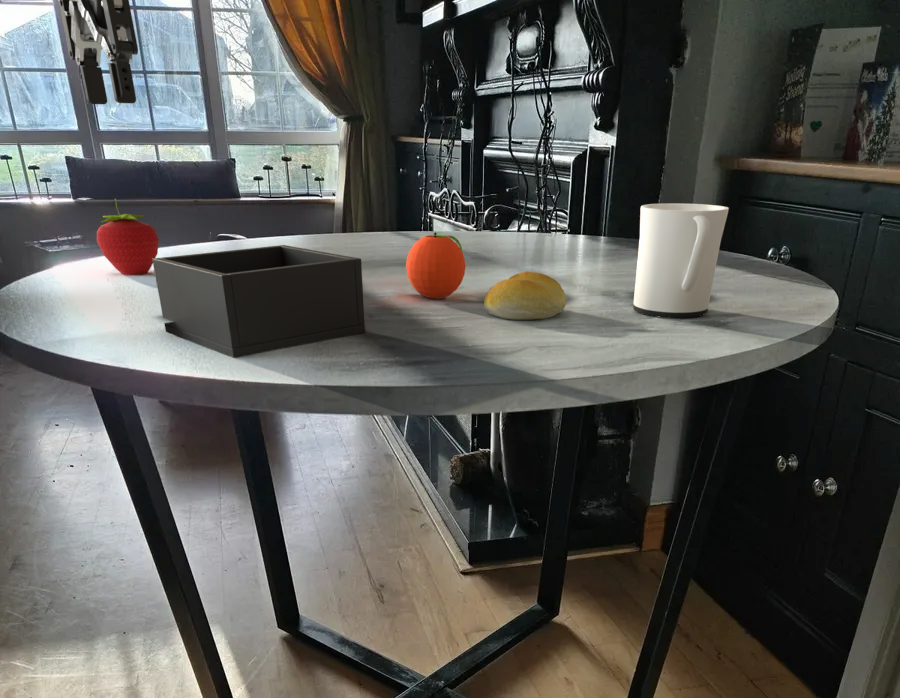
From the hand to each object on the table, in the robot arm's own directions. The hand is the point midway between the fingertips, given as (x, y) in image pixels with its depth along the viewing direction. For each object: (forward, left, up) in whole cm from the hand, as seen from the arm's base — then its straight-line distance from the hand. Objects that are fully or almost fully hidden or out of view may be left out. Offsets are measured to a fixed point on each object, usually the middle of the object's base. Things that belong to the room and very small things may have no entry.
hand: (111, 103), depth 91 cm
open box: (-3, -35, -20) cm, 40 cm away
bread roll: (+23, -46, -20) cm, 55 cm away
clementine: (+22, -33, -20) cm, 44 cm away
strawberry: (-1, 0, -20) cm, 20 cm away
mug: (+35, -57, -20) cm, 69 cm away
